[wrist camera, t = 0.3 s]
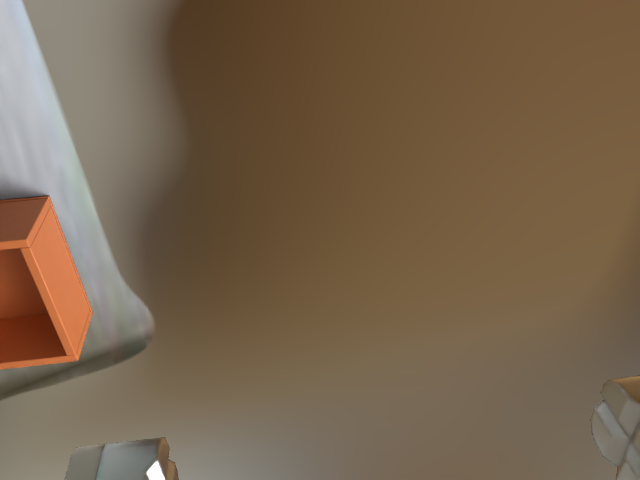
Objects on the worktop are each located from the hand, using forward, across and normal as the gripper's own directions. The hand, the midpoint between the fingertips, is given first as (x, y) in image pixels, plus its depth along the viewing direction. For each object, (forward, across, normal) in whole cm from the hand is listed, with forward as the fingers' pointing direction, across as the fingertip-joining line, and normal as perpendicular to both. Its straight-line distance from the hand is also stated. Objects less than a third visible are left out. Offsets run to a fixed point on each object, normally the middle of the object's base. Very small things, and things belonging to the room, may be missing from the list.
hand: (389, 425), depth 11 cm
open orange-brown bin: (+26, +22, +14) cm, 37 cm away
